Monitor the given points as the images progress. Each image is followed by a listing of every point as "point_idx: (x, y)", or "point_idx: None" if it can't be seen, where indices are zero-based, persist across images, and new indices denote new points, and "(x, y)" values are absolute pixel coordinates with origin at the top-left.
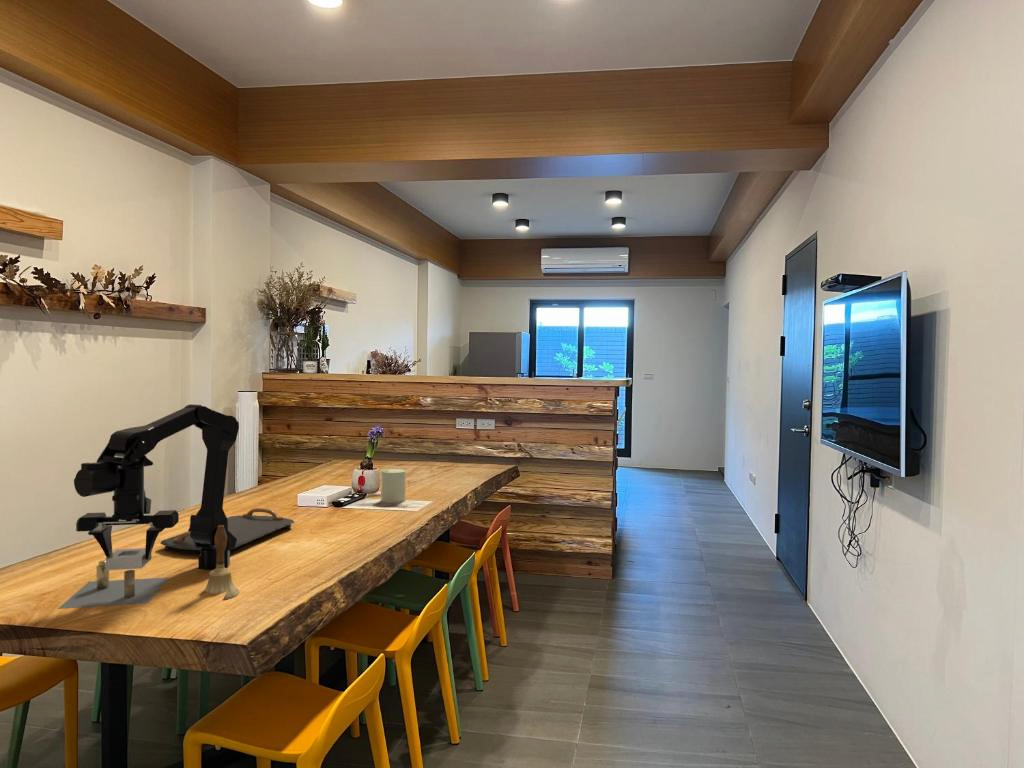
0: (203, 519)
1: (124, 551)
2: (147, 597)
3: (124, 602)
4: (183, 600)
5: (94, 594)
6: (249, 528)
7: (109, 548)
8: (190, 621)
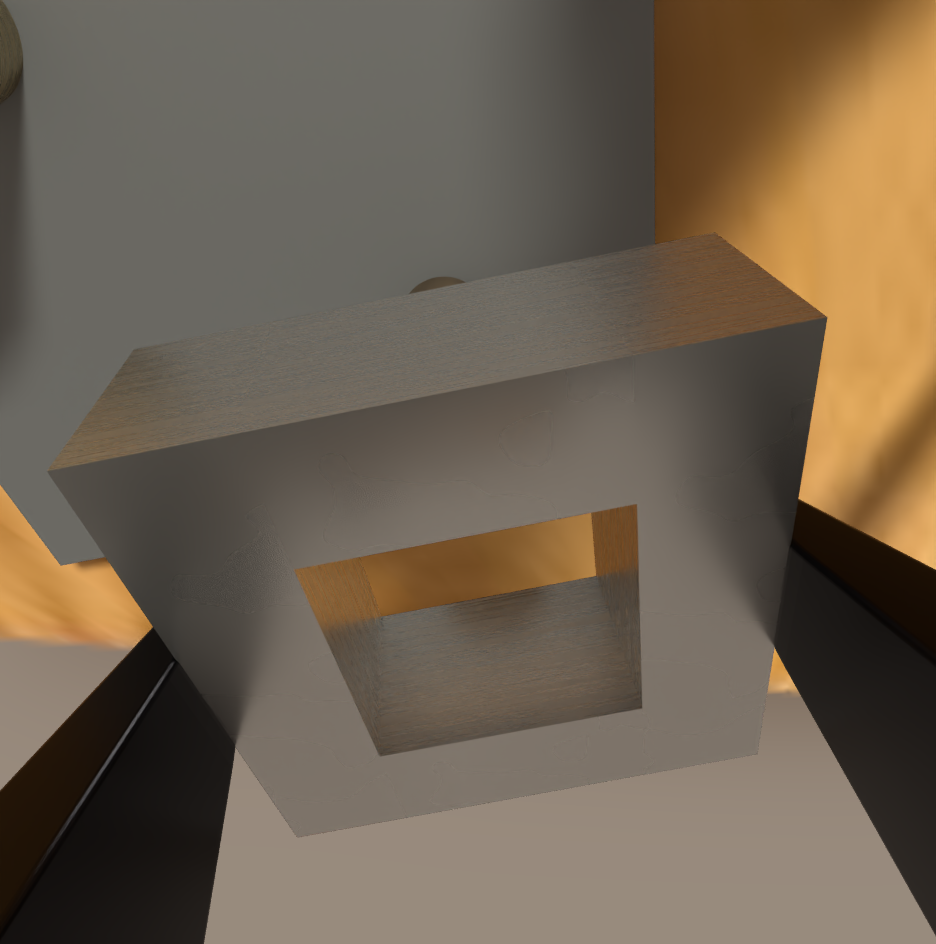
0: None
1: (327, 555)
2: None
3: None
4: (868, 220)
5: (66, 277)
6: None
7: (183, 841)
8: (918, 557)
